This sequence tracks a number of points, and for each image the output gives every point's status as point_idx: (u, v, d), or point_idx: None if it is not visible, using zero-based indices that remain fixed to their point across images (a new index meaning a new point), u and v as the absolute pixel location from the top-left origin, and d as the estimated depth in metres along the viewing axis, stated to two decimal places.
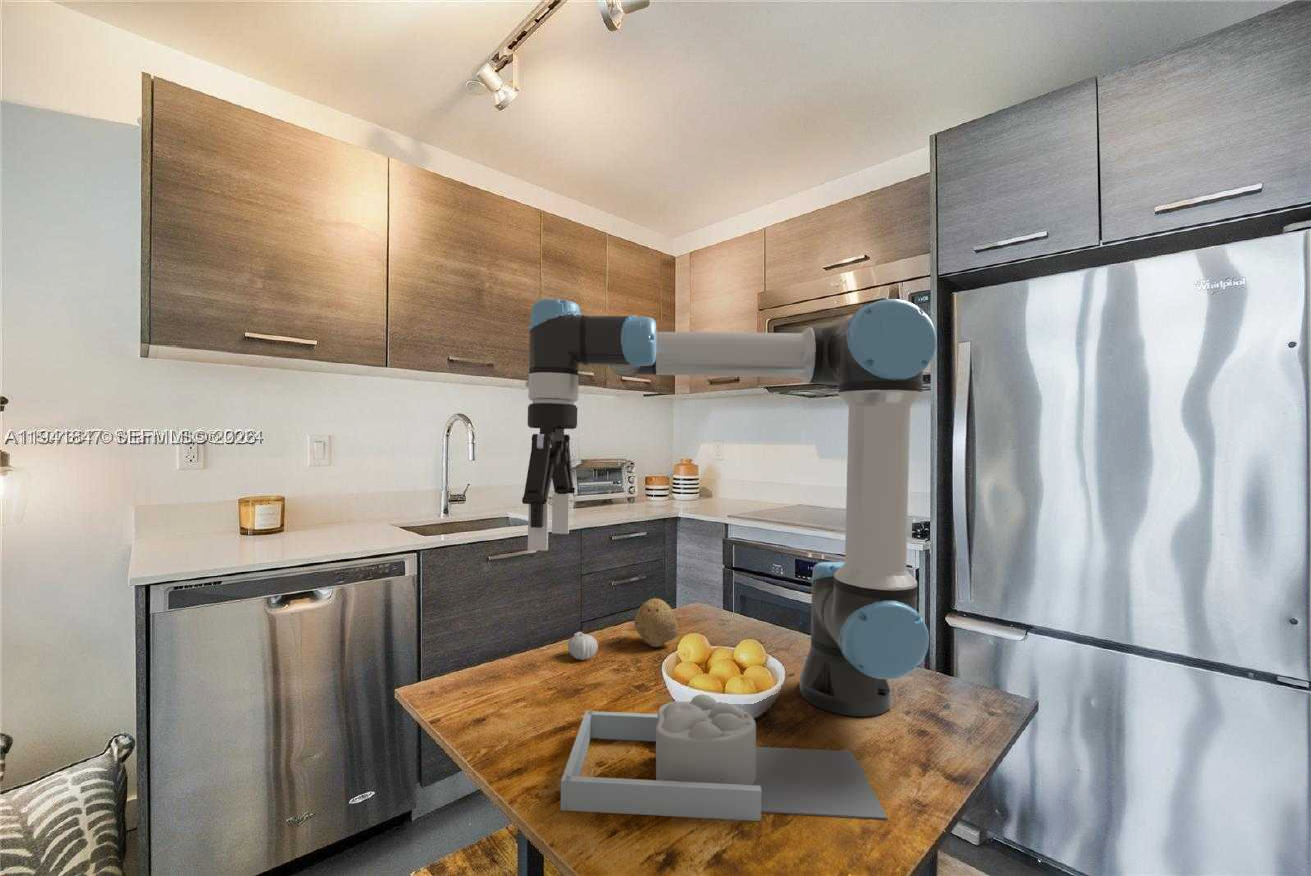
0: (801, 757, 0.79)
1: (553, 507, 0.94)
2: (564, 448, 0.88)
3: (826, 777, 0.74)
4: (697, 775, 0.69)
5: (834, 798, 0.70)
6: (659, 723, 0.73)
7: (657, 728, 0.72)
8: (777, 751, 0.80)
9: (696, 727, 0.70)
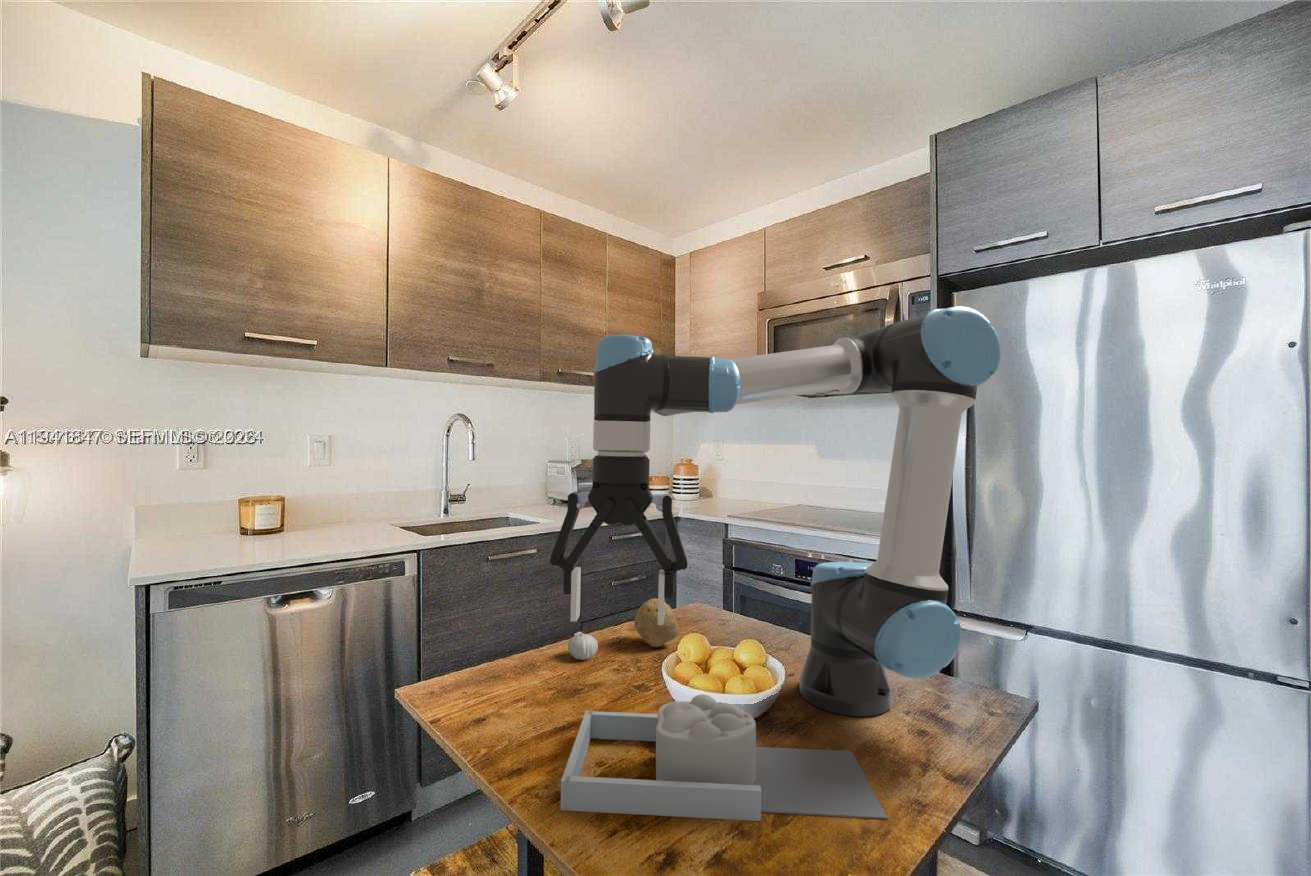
0: (801, 757, 0.79)
1: None
2: (625, 508, 0.73)
3: (826, 777, 0.74)
4: (697, 775, 0.69)
5: (834, 798, 0.70)
6: (659, 723, 0.73)
7: (657, 728, 0.72)
8: (777, 751, 0.80)
9: (696, 727, 0.70)
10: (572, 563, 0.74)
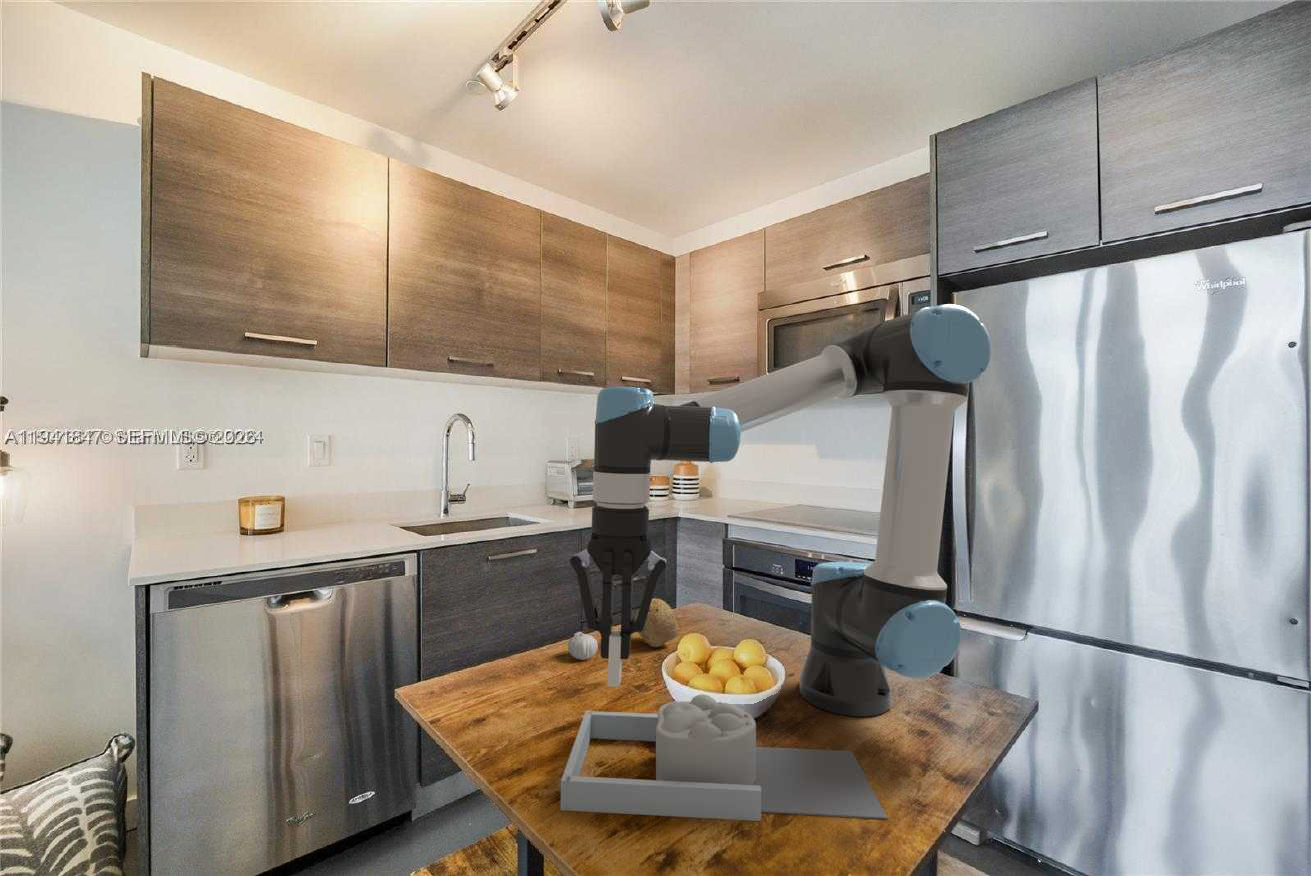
0: (801, 757, 0.79)
1: None
2: (622, 557, 0.73)
3: (826, 777, 0.74)
4: (697, 775, 0.69)
5: (834, 798, 0.70)
6: (659, 723, 0.73)
7: (657, 728, 0.72)
8: (777, 751, 0.80)
9: (696, 727, 0.70)
10: (608, 625, 0.74)
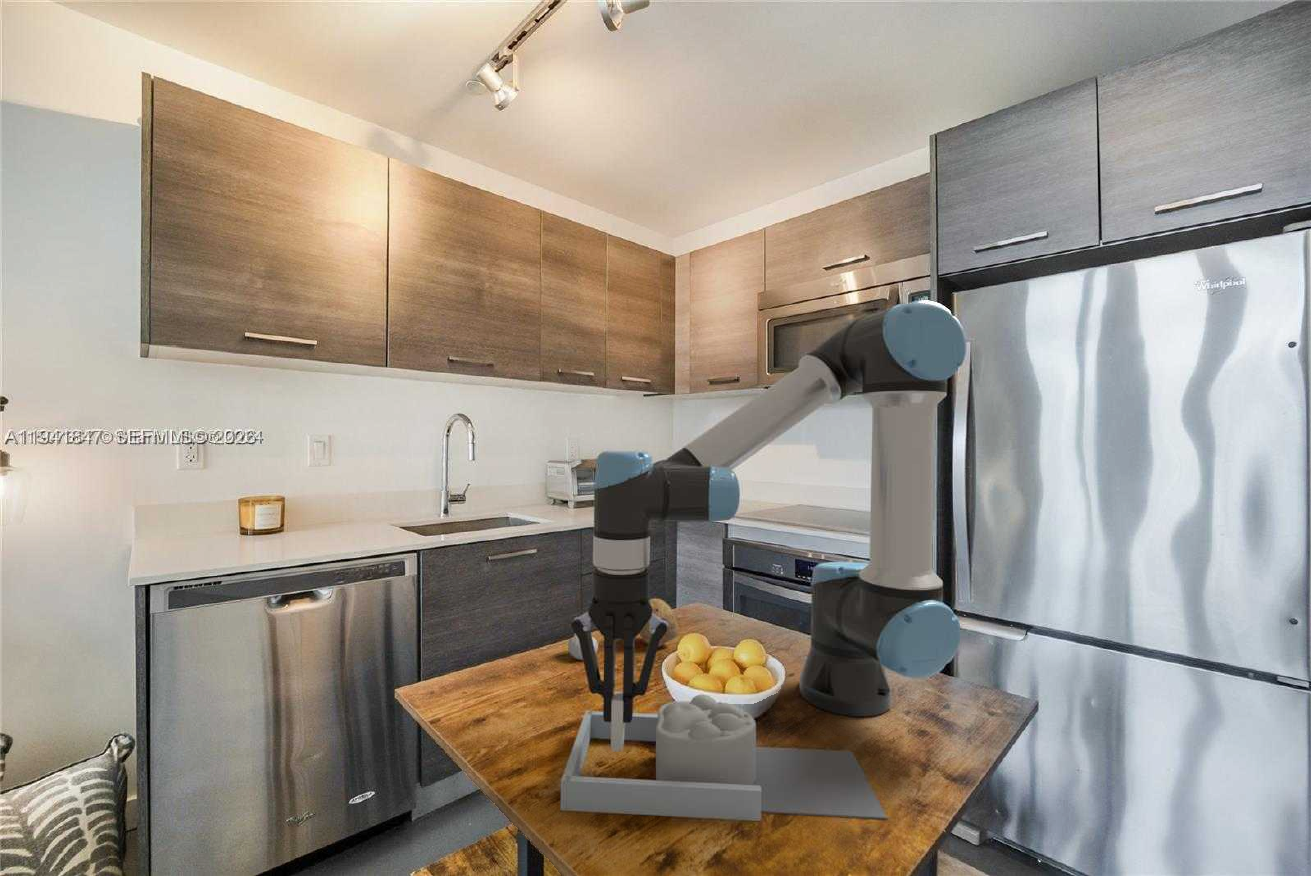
0: (801, 757, 0.79)
1: None
2: (623, 621, 0.73)
3: (826, 777, 0.74)
4: (697, 775, 0.69)
5: (834, 798, 0.70)
6: (659, 723, 0.73)
7: (657, 728, 0.72)
8: (777, 751, 0.80)
9: (696, 727, 0.70)
10: (610, 689, 0.74)
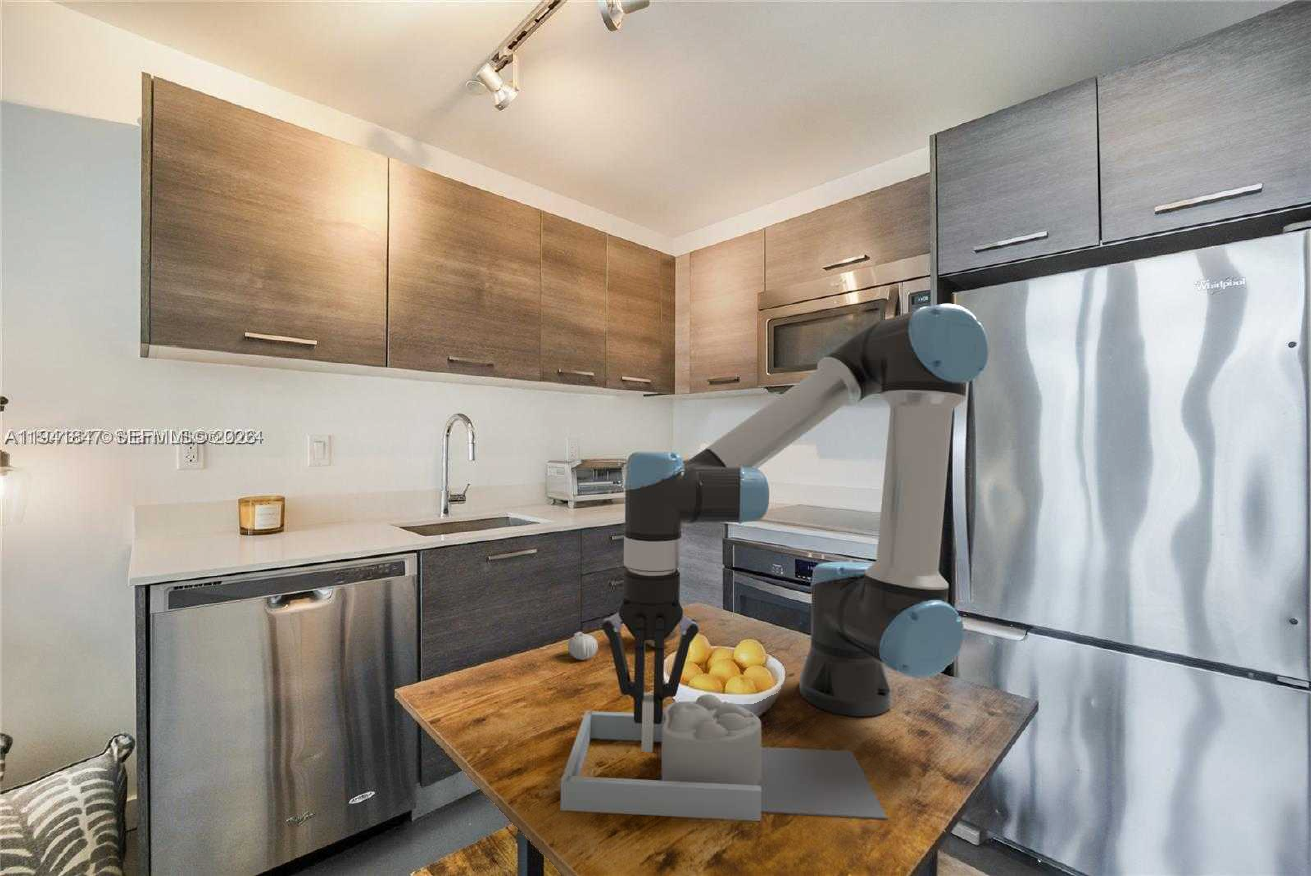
0: (801, 757, 0.79)
1: None
2: (655, 623, 0.73)
3: (826, 777, 0.74)
4: (703, 775, 0.69)
5: (834, 798, 0.70)
6: (665, 723, 0.73)
7: (663, 728, 0.72)
8: (777, 751, 0.80)
9: (702, 727, 0.70)
10: (641, 690, 0.74)
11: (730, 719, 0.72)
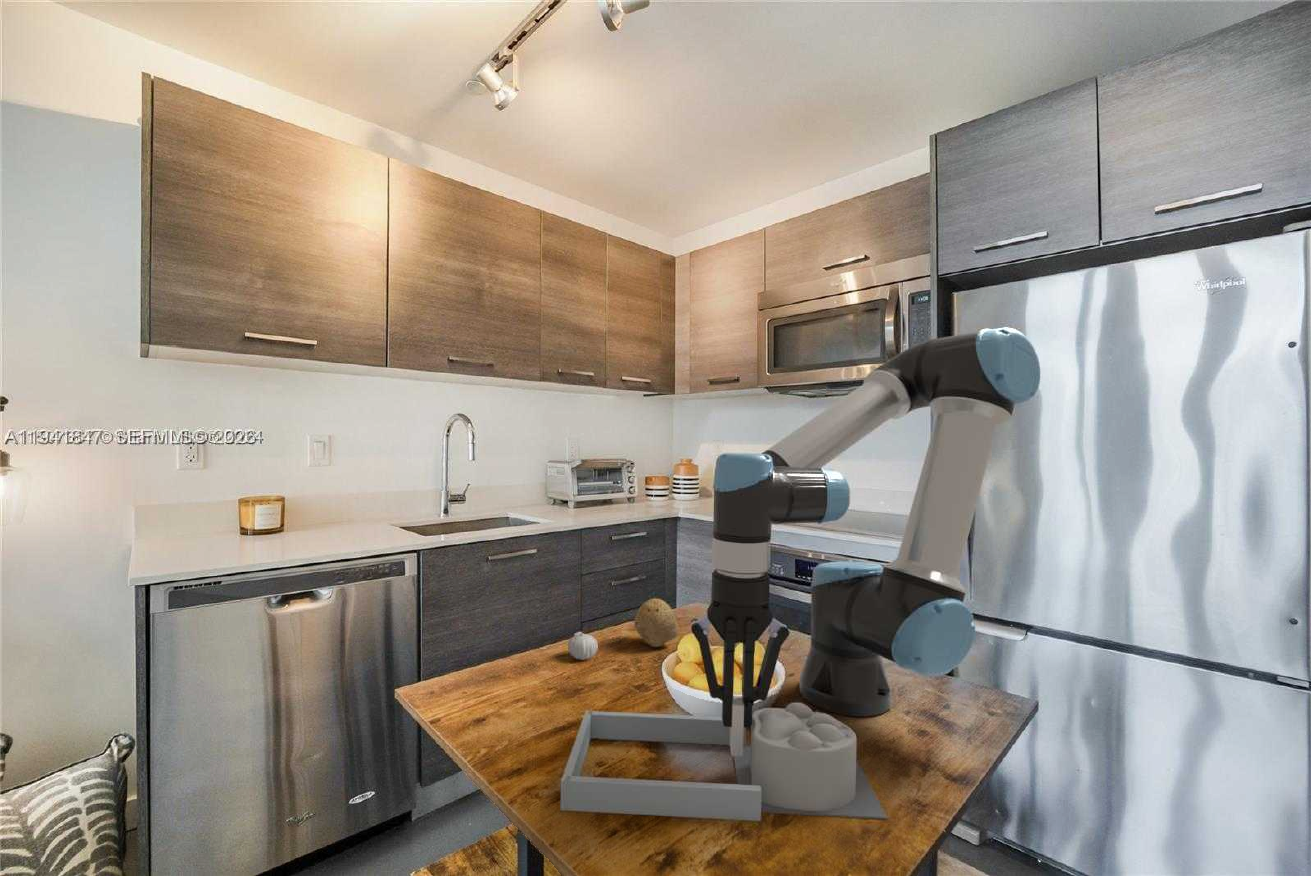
0: None
1: None
2: (746, 625, 0.72)
3: None
4: (796, 785, 0.68)
5: None
6: (755, 729, 0.72)
7: (754, 734, 0.71)
8: None
9: (796, 736, 0.69)
10: (731, 694, 0.73)
11: (824, 730, 0.70)
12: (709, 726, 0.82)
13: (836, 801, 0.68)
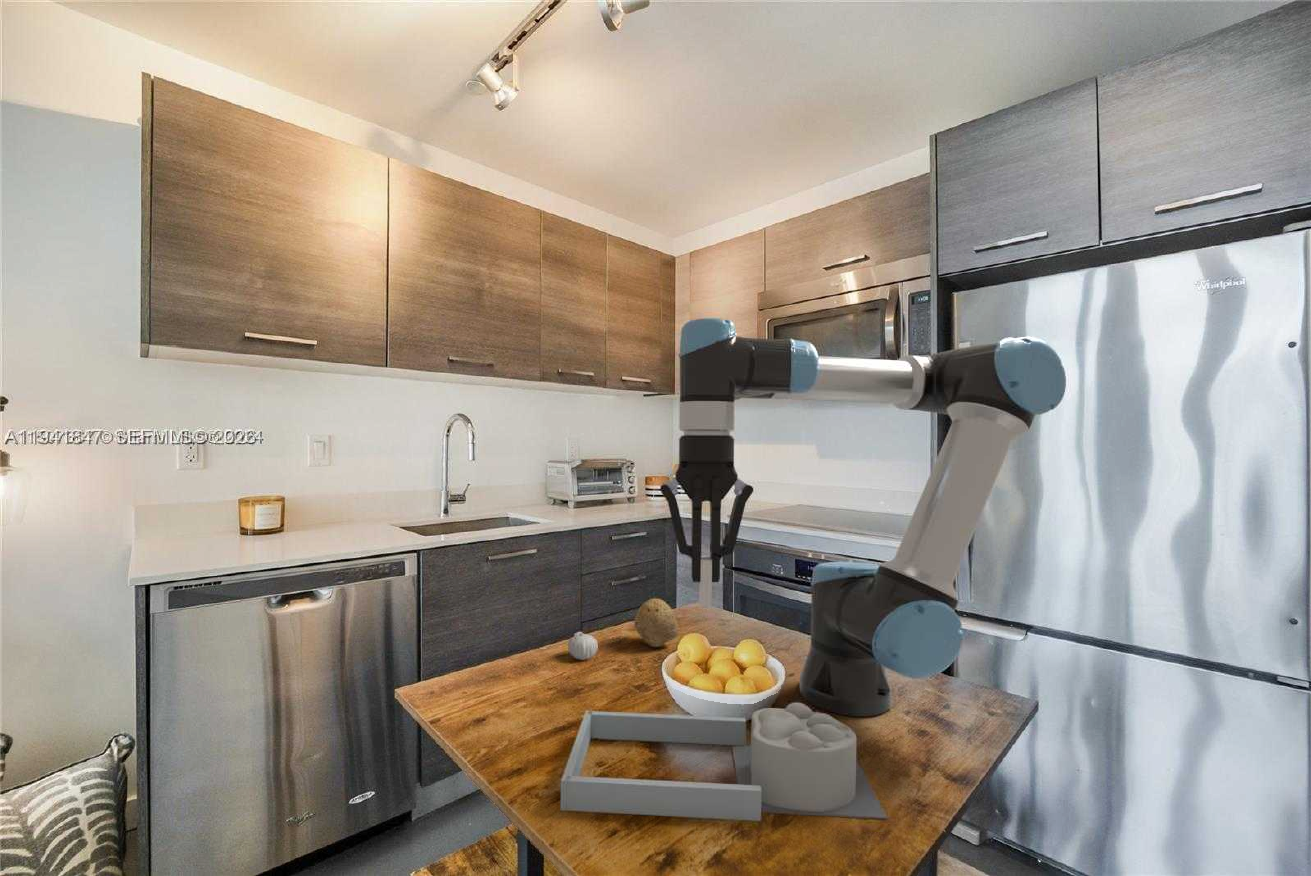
0: None
1: None
2: (712, 483, 0.76)
3: None
4: (796, 785, 0.68)
5: None
6: (755, 729, 0.72)
7: (754, 734, 0.71)
8: None
9: (796, 736, 0.69)
10: (699, 550, 0.77)
11: (824, 730, 0.70)
12: (709, 726, 0.82)
13: (836, 801, 0.68)
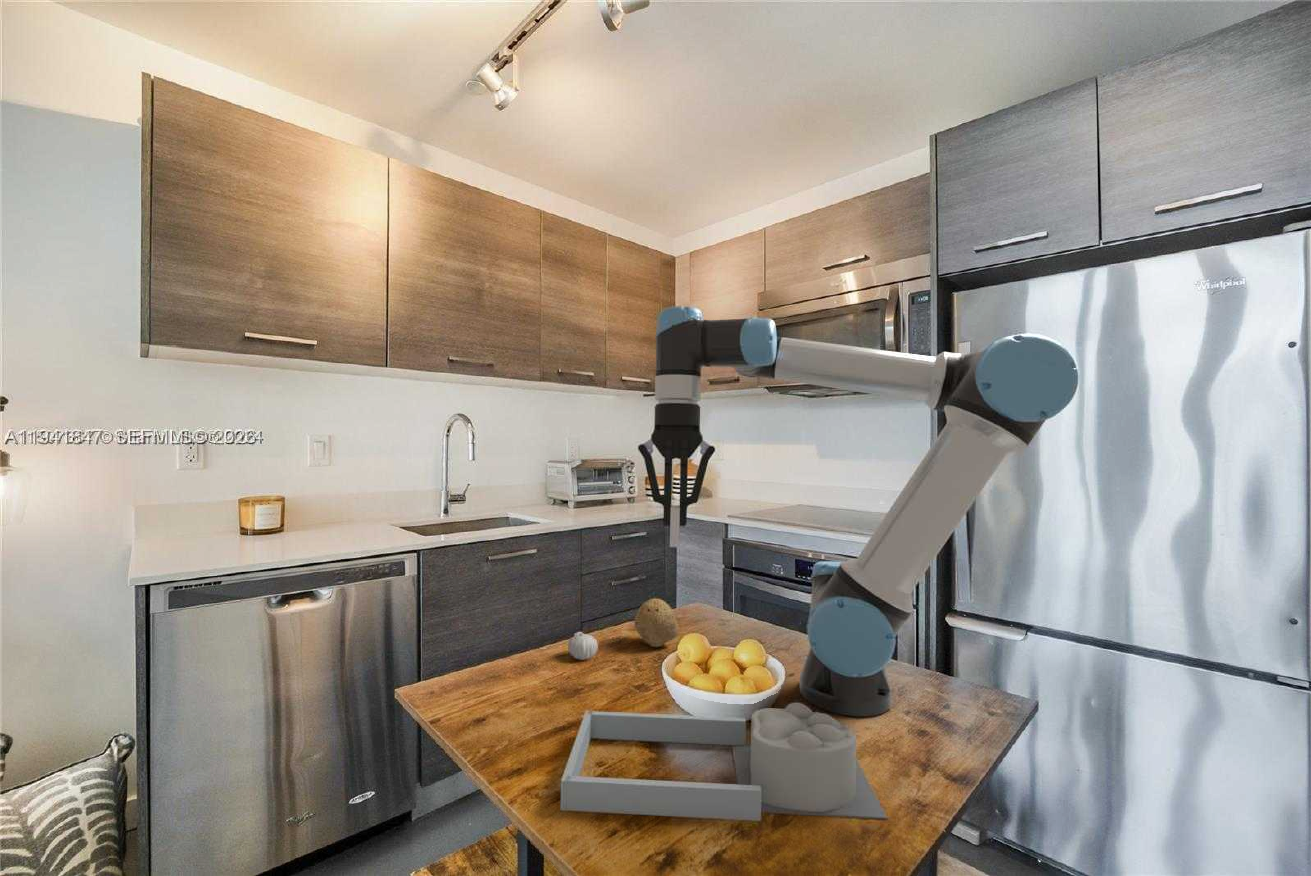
0: None
1: None
2: (680, 443, 0.92)
3: None
4: (796, 785, 0.68)
5: None
6: (755, 729, 0.72)
7: (753, 734, 0.71)
8: None
9: (795, 736, 0.69)
10: (669, 498, 0.92)
11: (824, 730, 0.70)
12: (709, 726, 0.82)
13: (836, 801, 0.68)
